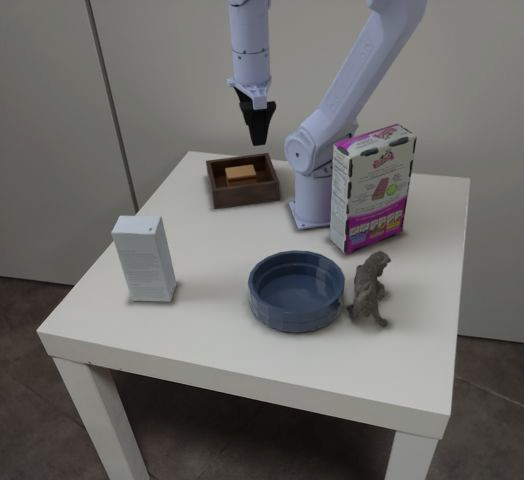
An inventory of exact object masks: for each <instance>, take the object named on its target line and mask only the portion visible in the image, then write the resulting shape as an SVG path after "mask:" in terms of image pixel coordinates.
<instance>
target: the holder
mask: <svg viewBox="0 0 524 480" xmlns="http://www.w3.org/2000/svg"><path fill="white" fill-rule="evenodd" d="M246 165H253V167H254V170H255V173H256V182H257V183H252V184H245V185H237V186H230V187H228V186H227V180H226V171H225V168H231V167H238V166H246ZM205 166H206V173H207V174H206V175H207V180H208V184H209V189H210V195H211V200H212V205H213V209H214V210H217V209H225V208H232V207H238V206H247V205H254V204H261V203H268V202H274V201H280V199H281V198H280V197H281V194H280V193H281V191H280V190H281V189H280V188H281V187H280V180H279V177H278V175H277V172H276V169H275V167H274V164H273V162H272V159H271V156H270V154H269V152H264V153H263V152H262V153H255V154H248V155H239V156H232V157H224V158H216V159H208V160H205Z"/></svg>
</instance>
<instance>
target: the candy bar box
mask: <svg viewBox="0 0 524 480" xmlns="http://www.w3.org/2000/svg"><path fill="white" fill-rule="evenodd" d="M417 138H418V135H417V134H415V133H414V132H412V131H410V130H409V129H407V128H406V127H403V125H401V124H400V123H394V124H390V125H388V126H385V127H381V128H379V129H376V130H372V131H369V132H366V133H362V134H360V135H356V136H354V137H353V138H350V139H347V140H344V141H341V142H337V143H334V144H333V167H332V195H331V220H330V225H329V226H330V227H329V240H330V242H331V243H332V244H333V245H335V246H336V247H337V248H338V249H339V250H340V251H341V252H342V254H344V255H348V254H351V253H354V252H357V251H359V250H362V249H364V248H366V247H369V246H372V245H374V244H376V243H381V242H382V241H384V240H387V239H390V238H392V237H395V236H397V235H400V234H403V230H404V225H405V216H406V210H407V204H408V197H409V192H410V191H409V190H410V183H411V177H412V172H413V166H414V165H413V164H414V158H415V151H416V146H417V140H418V139H417Z"/></svg>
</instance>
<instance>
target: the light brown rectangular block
mask: <svg viewBox="0 0 524 480" xmlns="http://www.w3.org/2000/svg"><path fill="white" fill-rule="evenodd" d="M225 171H226V180H227V186H228V187H230V186H237V185H245V184H252V183H257V182H256V173H255V170H254V167H253V165H246V166H238V167H231V168H225Z"/></svg>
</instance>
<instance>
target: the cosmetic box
mask: <svg viewBox="0 0 524 480" xmlns="http://www.w3.org/2000/svg"><path fill="white" fill-rule="evenodd" d="M110 234H111V237H112V240H113V243H114V247H115V249H116V253H117V256H118V260H119V263H120V266H121V269H122V272H123V275H124V279H125V282H126V286H127V289H128V292H129V295H130V299H131V301H133V302H165V303H166V302H168V303H169V302H172V299H173V298H174V297H173V296H174V293H175V290H176V288H177V287H176V286H177V278H176V274H175V270H174V265H173V261H172V256H171V251H170V248H169V243H168V239H167V236H166V235H167V234H166V230H165V225H164V221H163V216H162V215H119V216H118V219H117V221H116V223H115V224H114V227H113V229H112V230H111V232H110Z"/></svg>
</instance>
